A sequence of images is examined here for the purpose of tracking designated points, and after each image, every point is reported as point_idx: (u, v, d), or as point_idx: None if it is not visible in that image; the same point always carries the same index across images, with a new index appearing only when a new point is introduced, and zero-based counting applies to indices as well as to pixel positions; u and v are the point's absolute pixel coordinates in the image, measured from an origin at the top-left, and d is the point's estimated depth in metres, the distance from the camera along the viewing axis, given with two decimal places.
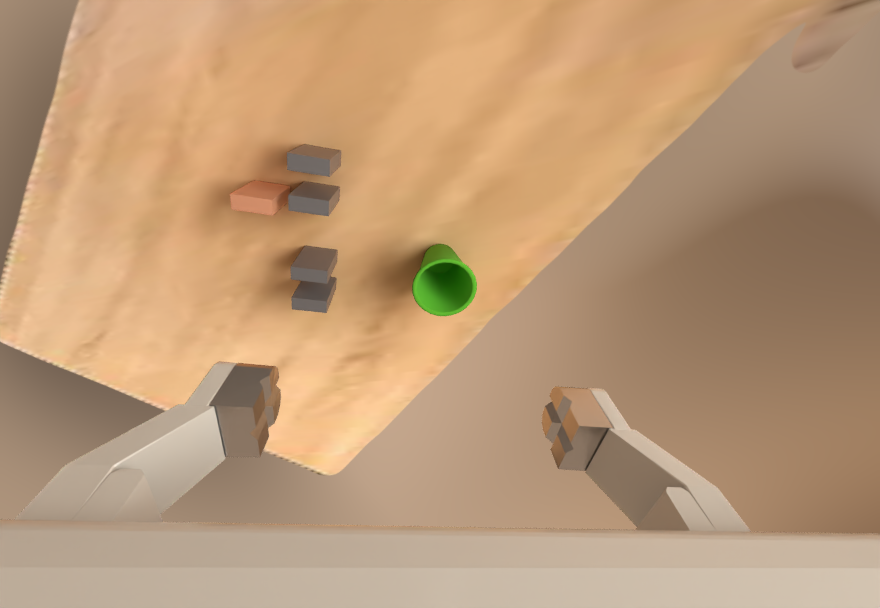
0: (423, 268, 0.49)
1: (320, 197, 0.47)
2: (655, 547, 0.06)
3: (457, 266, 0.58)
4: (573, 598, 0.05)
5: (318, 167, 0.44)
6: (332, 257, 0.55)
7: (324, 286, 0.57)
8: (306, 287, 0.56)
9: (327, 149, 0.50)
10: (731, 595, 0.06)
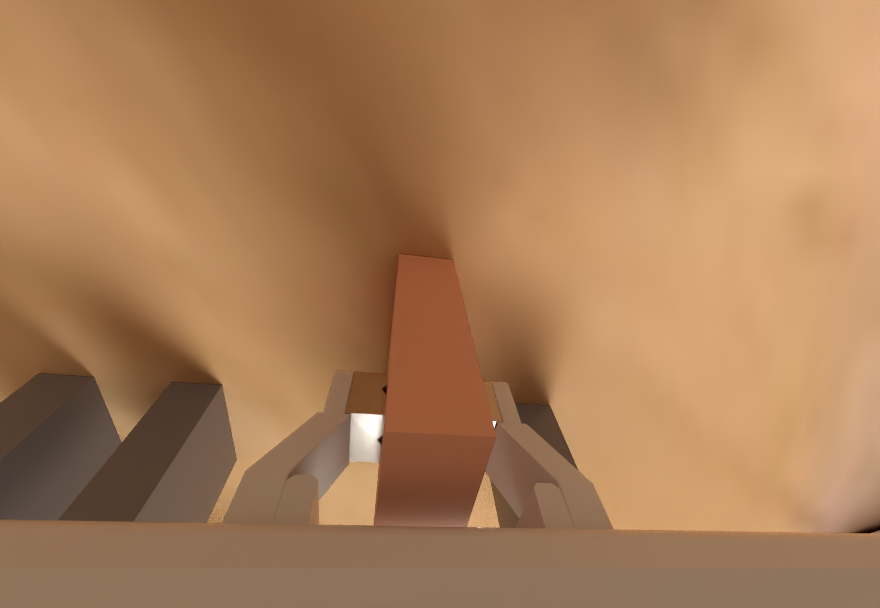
0: None
1: None
2: (655, 547, 0.06)
3: None
4: (573, 598, 0.05)
5: None
6: (205, 521, 0.15)
7: (55, 515, 0.14)
8: None
9: None
10: (731, 595, 0.06)
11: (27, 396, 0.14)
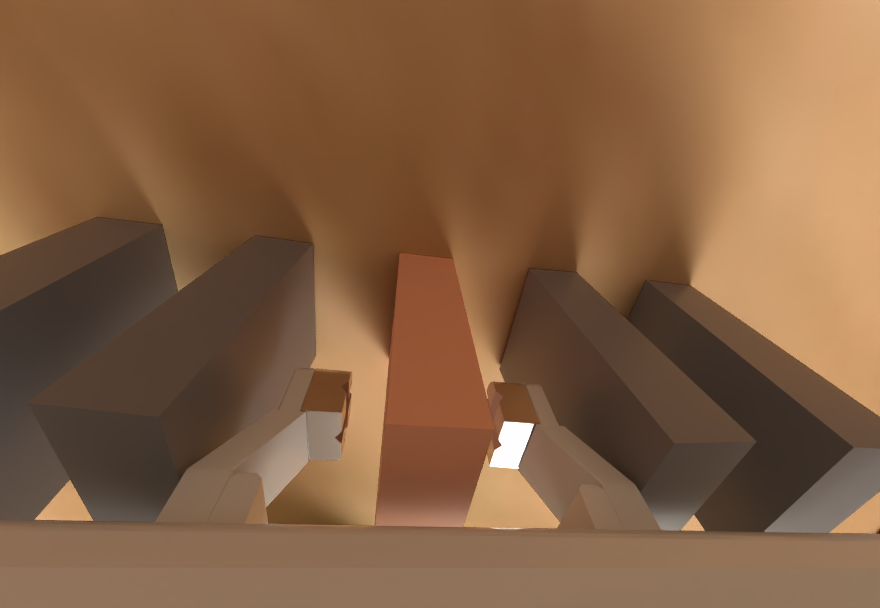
0: None
1: None
2: (655, 547, 0.06)
3: None
4: (573, 598, 0.05)
5: None
6: None
7: None
8: (63, 330, 0.09)
9: None
10: (731, 595, 0.06)
11: (87, 231, 0.11)
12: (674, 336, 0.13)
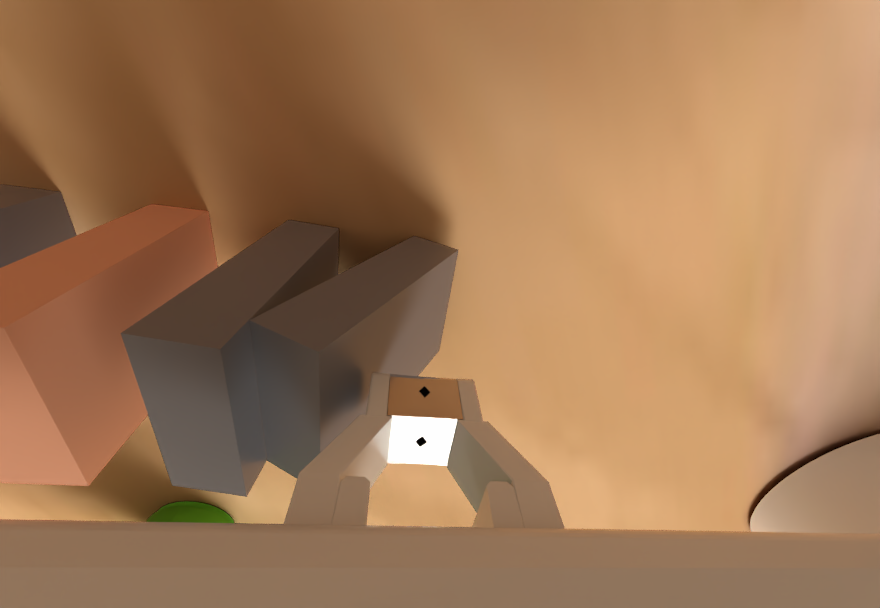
0: None
1: (261, 432, 0.10)
2: (655, 547, 0.06)
3: None
4: (573, 598, 0.05)
5: (287, 443, 0.10)
6: None
7: None
8: None
9: (434, 332, 0.15)
10: (731, 595, 0.06)
11: None
12: None
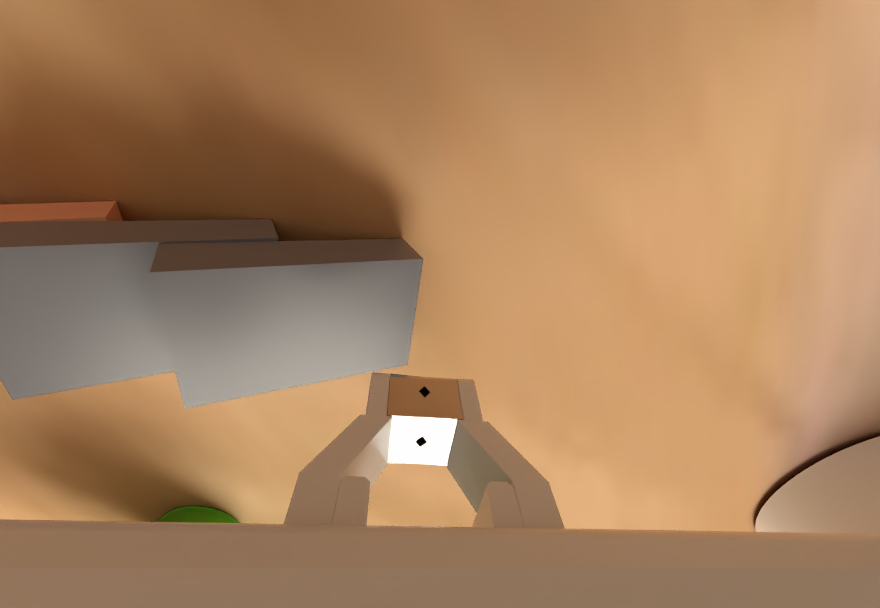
0: None
1: (41, 359, 0.11)
2: (655, 547, 0.06)
3: None
4: (573, 598, 0.05)
5: None
6: None
7: None
8: None
9: (387, 337, 0.14)
10: (731, 595, 0.06)
11: None
12: None
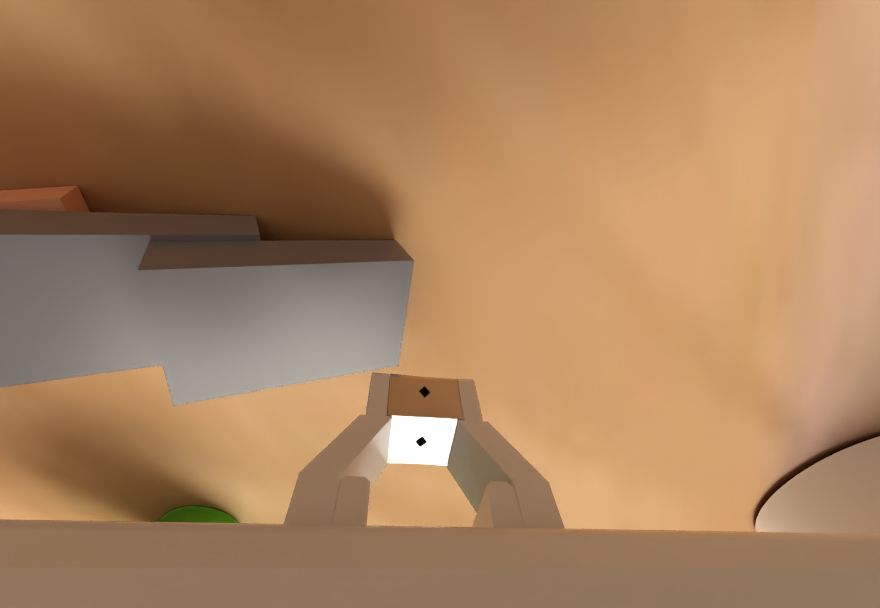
0: None
1: (11, 350, 0.11)
2: (655, 547, 0.06)
3: None
4: (573, 598, 0.05)
5: None
6: None
7: None
8: None
9: (377, 338, 0.14)
10: (731, 595, 0.06)
11: None
12: None
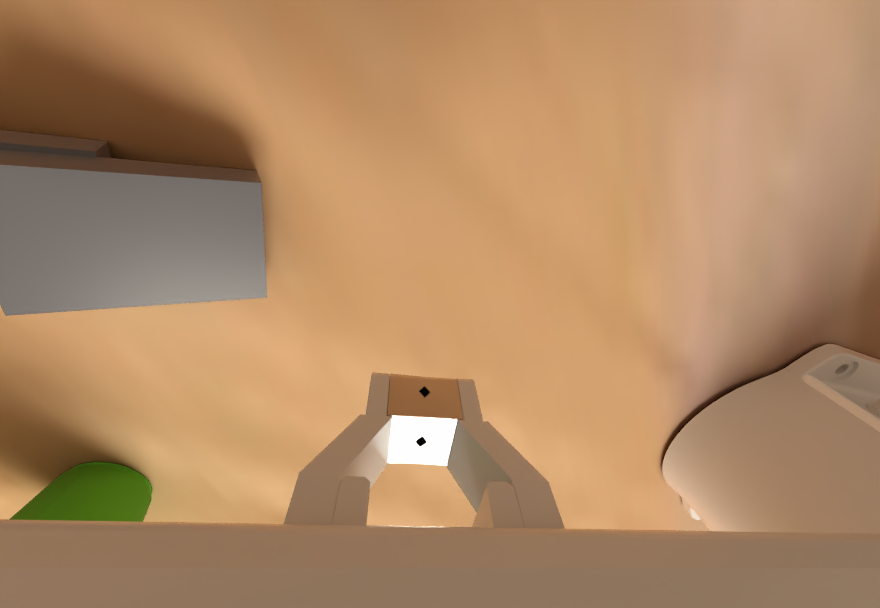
0: None
1: None
2: (655, 547, 0.06)
3: None
4: (573, 598, 0.05)
5: None
6: None
7: None
8: None
9: (235, 264, 0.15)
10: (731, 595, 0.06)
11: None
12: None
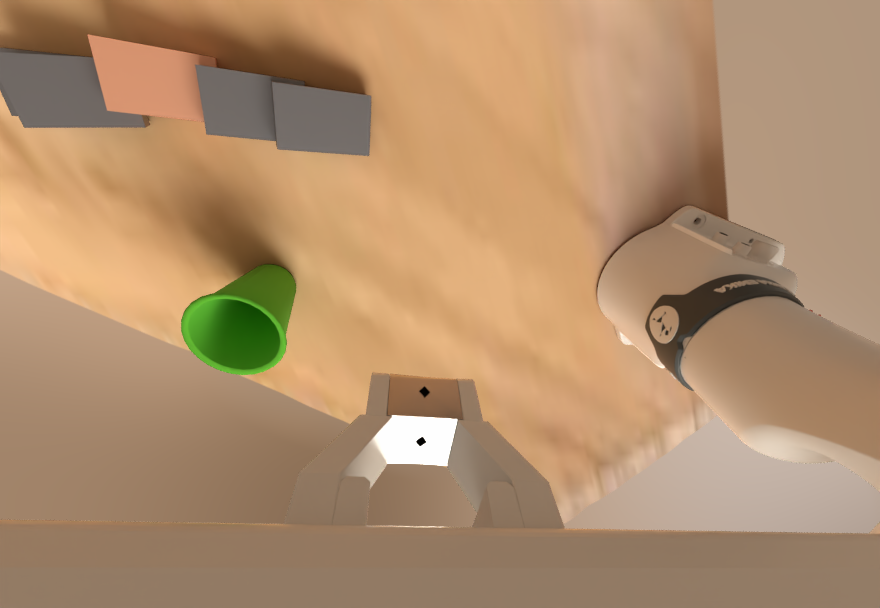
0: (261, 308, 0.32)
1: (217, 118, 0.30)
2: (655, 547, 0.06)
3: None
4: (573, 598, 0.05)
5: (275, 130, 0.31)
6: (99, 124, 0.31)
7: None
8: None
9: (358, 135, 0.33)
10: (731, 595, 0.06)
11: None
12: None
